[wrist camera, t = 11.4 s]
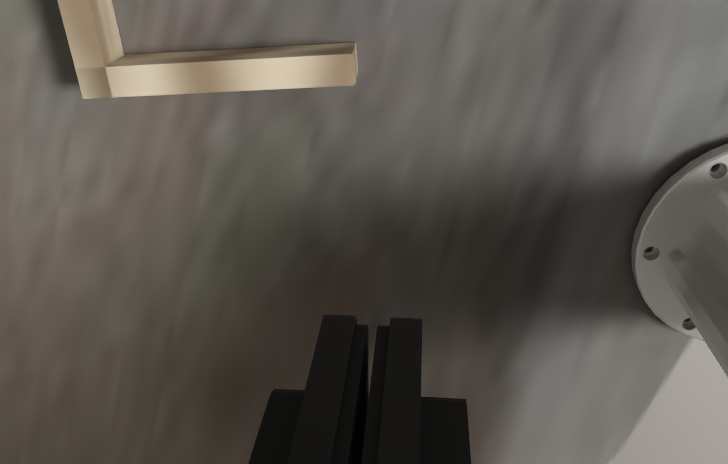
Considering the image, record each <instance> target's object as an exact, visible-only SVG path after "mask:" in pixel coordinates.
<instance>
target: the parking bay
mask: <svg viewBox="0 0 728 464" xmlns="http://www.w3.org/2000/svg"><path fill="white" fill-rule="evenodd" d="M57 1H58V5H59V8H60V12H61V16H62V20H63V24H64V28H65V31H66V35H67V39H68V43H69V47H70V51H71V54H72V58H73V62H74V66H75V70H76V74H77V77H78V81H79V85H80V89H81V93H82V96H83V99H89V98H110V97H130V96H150V95H170V94H190V93H210V92H230V91H250V90H270V89H290V88H311V87H331V86H351V85H355V82H356V78H357V74H358V65H357V51H356V42H351V43H333V44H315V45H296V46H278V47H260V48H242V49H223V50H205V51H187V52H169V53H150V54H132V55H124V52H123V48H122V43H121V39H120V34H119V30H118V26H117V21H116V17H115V12H114V8H113V4H112V0H57Z"/></svg>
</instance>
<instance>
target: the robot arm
mask: <svg viewBox="0 0 728 464" xmlns="http://www.w3.org/2000/svg"><path fill="white" fill-rule="evenodd" d="M715 164H716V165H715ZM713 165H715V166H714V167H713V168H711V167H712V166H713ZM648 247H649V248H648ZM631 258H632V271H633V274H634V278H635V281H636V285H637V287H638V289H639V291H640V293H641V295H642V296H643V298H644V300H645V302H646V303H647V305H648V306H649V307H650V309H651V310H652V311H653V313H654V314H655V315H656V316H657V317H658V318H660V319H661V320H662V321H663V322H664V323H665V324H667V325H668V326H669V327H671V328H673V329H675V330H676V331H678V332H680V333H682V334H684V335H687V336H690V337H693V338H697V339H700V340H703V341H705V342H706V344H707V345H708V347H709V349H710V350H711V352H712V353H713V355H714V356H715V358H716V359H717V361H718V363H719V364H720V366H721V367H722V369H723V370H724V372H725V373H726V375H727V377H728V143H727V144H725V145H722V146H719V147H717V148H714V149H711V150H710V151H708V152H706V153H704V154H703V155H701V156H699V157H697V158H696V159H694V160H692V161H690V162H689V163H688V164H686V165H685V166H684V167H682V168H681V169H680V170H679V171H677V172H676V173H675V174H674V175H672V176H671V177H670V178H669V179H668V180H667V181H666V182H665V183H664V184H663V186H662V187H661V188H660V189H659V190H658V191H657V192H656V193H655V194H654V196H653V197H652V199H651V200H650V202H649V203H648V205H647V207H646V208H645V210H644V211H643V213H642V215H641V218H640V220H639V223H638V225H637V227H636V230H635V233H634V238H633V244H632V249H631ZM421 355H422V319H413V318H390V326H380V325H378V327H377V334H376V343H375V351H374V360H373V368H372V376H371V385H370V393H369V402H368V325H358V324H357V319H356V316H346V315H324V316H323V320H322V324H321V328H320V332H319V336H318V340H317V344H316V348H315V352H314V356H313V360H312V364H311V368H310V372H309V376H308V380H307V384H306V388H305V391H304V390H286V389H274V390H273V391H272V392H271V395H270V397H269V400H268V404H267V407H266V410H265V413H264V416H263V419H262V423H261V426H260V429H259V432H258V435H257V439H256V442H255V445H254V448H253V451H252V454H251V458H250V461H249V464H471V457H470V443H469V429H468V415H467V404H466V399H453V398H435V397H421Z"/></svg>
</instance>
